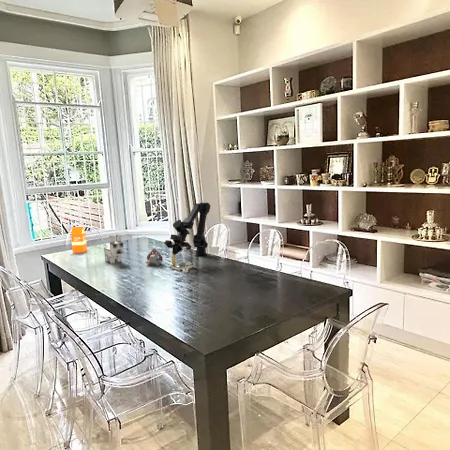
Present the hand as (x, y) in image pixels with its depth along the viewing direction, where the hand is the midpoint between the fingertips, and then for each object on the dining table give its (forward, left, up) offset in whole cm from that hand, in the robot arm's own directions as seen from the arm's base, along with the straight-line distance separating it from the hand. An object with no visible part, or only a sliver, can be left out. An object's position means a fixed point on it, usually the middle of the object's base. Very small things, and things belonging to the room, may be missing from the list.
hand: (172, 255), depth 257 cm
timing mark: (+2, +15, -8) cm, 17 cm away
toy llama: (+18, -45, -8) cm, 49 cm away
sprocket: (-4, +4, -8) cm, 10 cm away
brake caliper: (+4, -16, -8) cm, 18 cm away
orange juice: (+18, -99, -8) cm, 101 cm away
